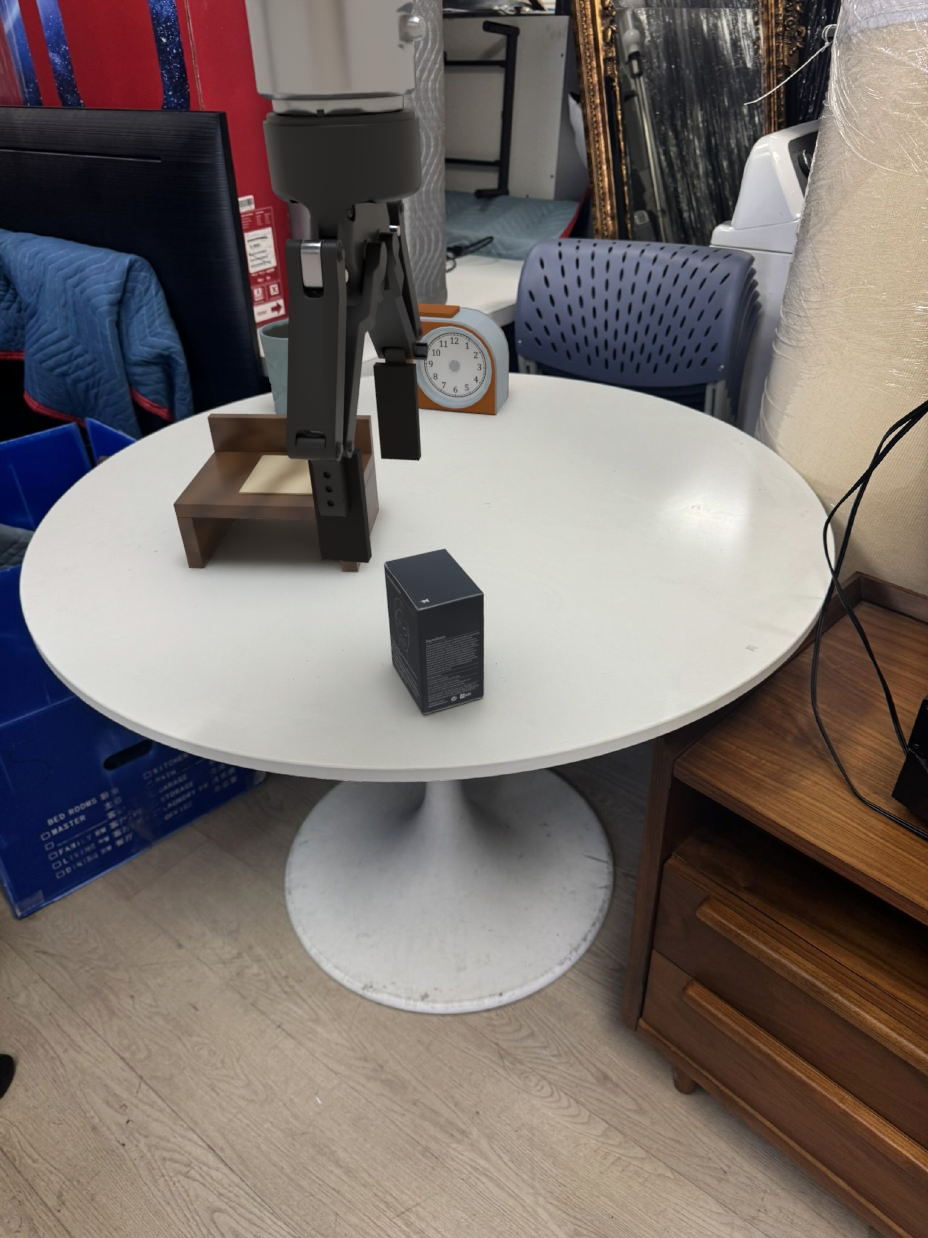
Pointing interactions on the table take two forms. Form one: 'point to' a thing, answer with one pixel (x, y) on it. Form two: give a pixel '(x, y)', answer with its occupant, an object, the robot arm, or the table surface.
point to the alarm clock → (462, 360)
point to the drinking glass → (276, 360)
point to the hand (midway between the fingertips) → (377, 503)
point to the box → (436, 629)
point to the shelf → (256, 481)
